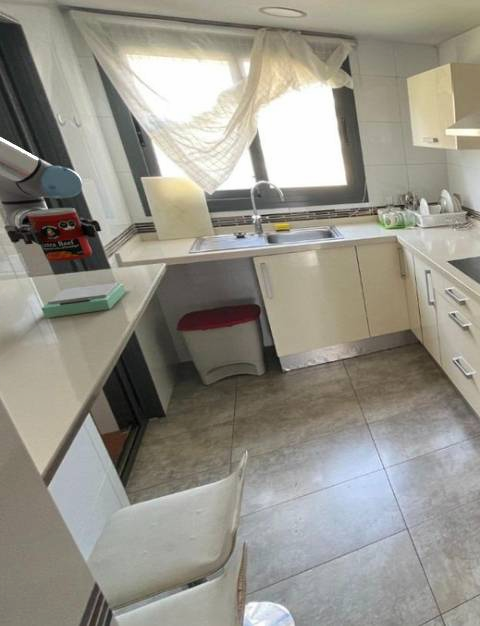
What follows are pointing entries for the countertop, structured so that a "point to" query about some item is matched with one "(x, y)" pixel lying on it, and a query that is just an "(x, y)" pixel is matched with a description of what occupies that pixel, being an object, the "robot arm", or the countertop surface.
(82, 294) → the scale
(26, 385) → the countertop surface
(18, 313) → the countertop surface
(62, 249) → the canned food
